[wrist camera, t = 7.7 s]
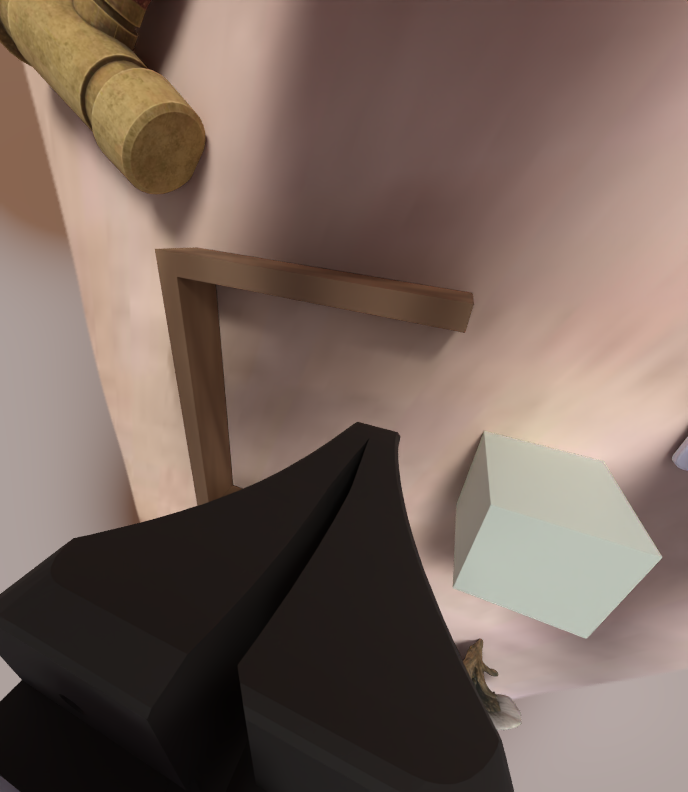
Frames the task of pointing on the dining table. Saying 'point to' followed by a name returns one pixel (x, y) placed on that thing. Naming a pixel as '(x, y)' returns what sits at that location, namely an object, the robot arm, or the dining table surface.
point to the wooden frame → (202, 269)
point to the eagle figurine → (496, 705)
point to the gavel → (109, 84)
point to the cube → (547, 535)
